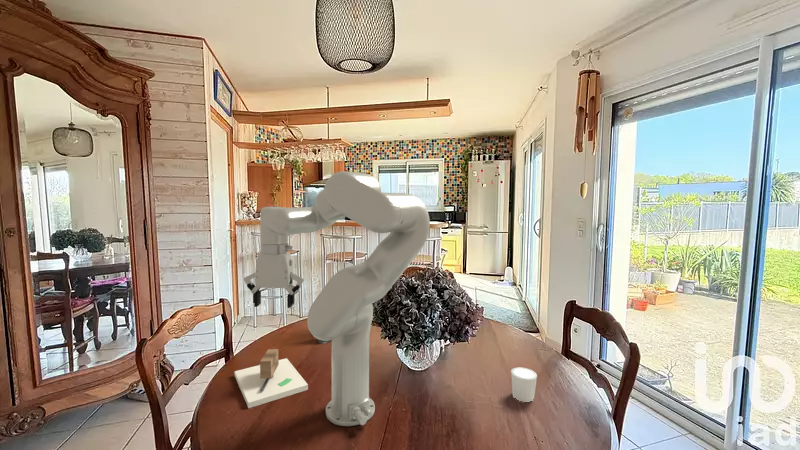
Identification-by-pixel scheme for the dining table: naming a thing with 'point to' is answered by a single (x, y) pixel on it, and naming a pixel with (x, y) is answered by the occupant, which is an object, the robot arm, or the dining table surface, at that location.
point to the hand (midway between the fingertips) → (273, 306)
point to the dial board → (269, 383)
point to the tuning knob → (268, 365)
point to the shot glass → (523, 384)
